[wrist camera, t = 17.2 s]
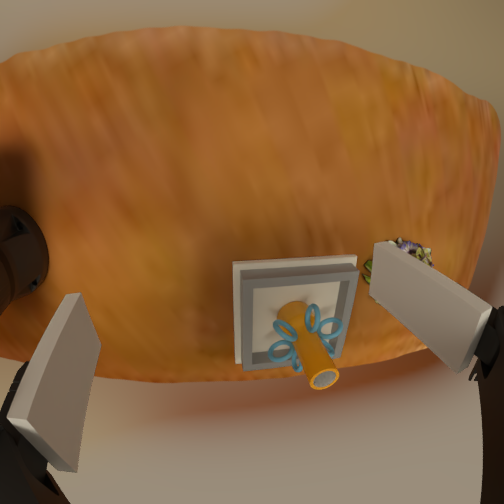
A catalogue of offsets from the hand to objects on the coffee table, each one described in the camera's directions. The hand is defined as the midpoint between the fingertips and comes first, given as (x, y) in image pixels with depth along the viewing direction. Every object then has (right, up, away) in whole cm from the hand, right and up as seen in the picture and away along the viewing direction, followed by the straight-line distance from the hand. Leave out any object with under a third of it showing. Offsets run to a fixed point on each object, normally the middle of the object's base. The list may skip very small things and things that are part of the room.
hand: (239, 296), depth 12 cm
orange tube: (+7, -9, +36) cm, 38 cm away
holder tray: (+7, -8, +37) cm, 38 cm away
